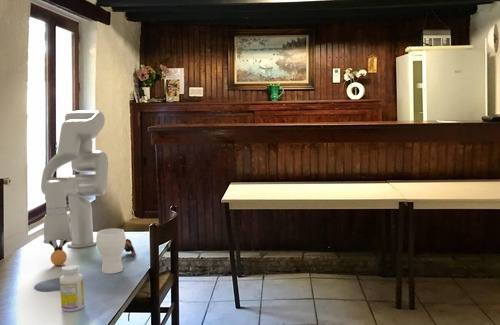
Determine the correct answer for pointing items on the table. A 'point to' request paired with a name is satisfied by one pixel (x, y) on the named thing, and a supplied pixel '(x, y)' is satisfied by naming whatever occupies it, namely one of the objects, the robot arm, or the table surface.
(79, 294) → the supplement bottle
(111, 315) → the table surface
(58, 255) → the ball
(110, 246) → the cup
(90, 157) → the robot arm
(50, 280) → the disc
